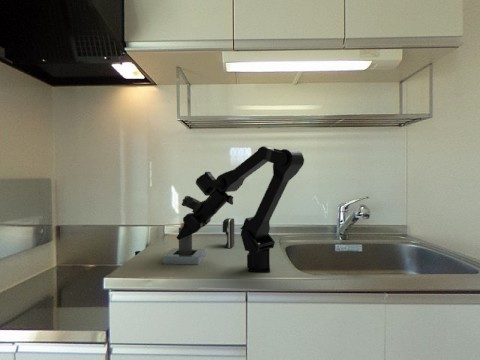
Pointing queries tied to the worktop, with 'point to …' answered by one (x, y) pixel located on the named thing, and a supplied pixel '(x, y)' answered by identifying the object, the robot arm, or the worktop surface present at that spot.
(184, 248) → the plug
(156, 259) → the worktop surface
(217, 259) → the worktop surface
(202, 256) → the housing
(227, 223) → the battery charger
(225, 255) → the worktop surface
